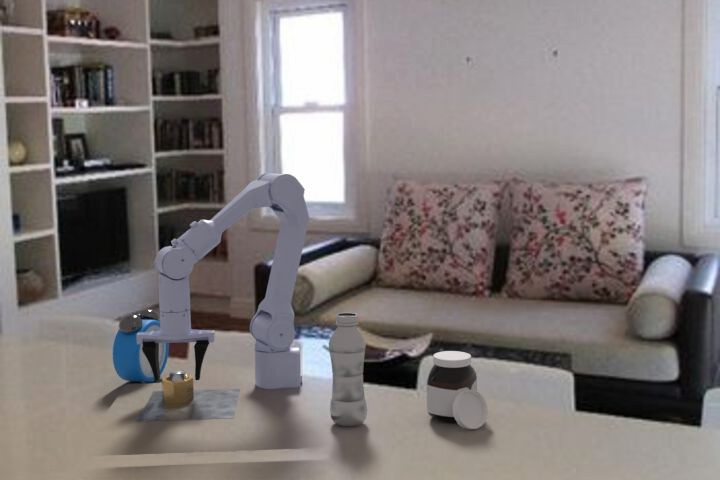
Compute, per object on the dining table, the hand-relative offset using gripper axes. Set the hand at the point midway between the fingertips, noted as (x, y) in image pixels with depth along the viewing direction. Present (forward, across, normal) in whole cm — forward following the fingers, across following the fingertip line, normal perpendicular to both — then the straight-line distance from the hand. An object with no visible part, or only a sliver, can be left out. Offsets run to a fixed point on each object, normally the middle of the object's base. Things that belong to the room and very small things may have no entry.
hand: (177, 379), depth 166 cm
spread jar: (+6, -52, +14) cm, 54 cm away
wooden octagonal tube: (+4, 0, 0) cm, 4 cm away
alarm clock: (+5, +10, -18) cm, 21 cm away
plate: (+5, -3, +4) cm, 7 cm away
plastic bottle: (+5, -32, +14) cm, 35 cm away
